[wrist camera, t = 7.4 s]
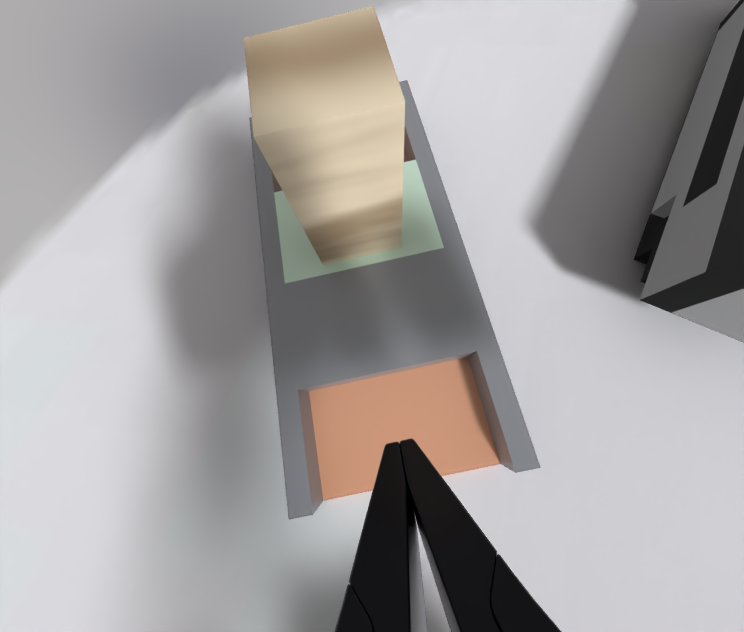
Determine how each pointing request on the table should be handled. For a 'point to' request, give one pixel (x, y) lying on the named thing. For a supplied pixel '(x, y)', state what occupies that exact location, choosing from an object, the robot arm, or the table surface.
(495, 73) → the table surface
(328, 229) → the block
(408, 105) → the box
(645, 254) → the game console
